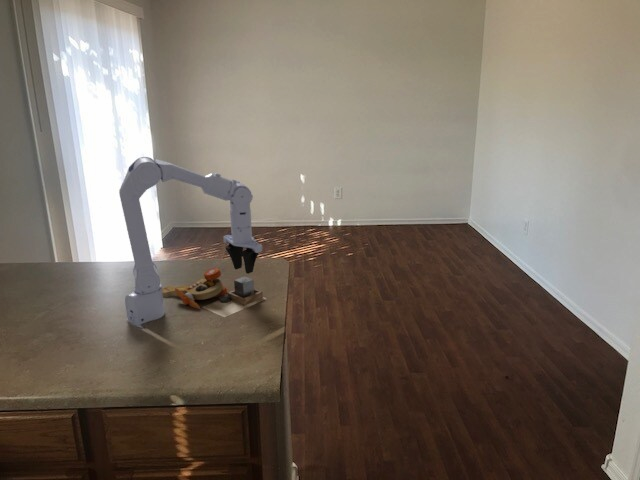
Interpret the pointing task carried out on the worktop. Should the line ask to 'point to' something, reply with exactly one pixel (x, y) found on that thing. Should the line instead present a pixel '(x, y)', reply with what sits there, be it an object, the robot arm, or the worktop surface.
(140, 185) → the robot arm
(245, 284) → the grey rectangular block
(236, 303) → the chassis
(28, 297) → the worktop surface
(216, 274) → the toy helicopter
